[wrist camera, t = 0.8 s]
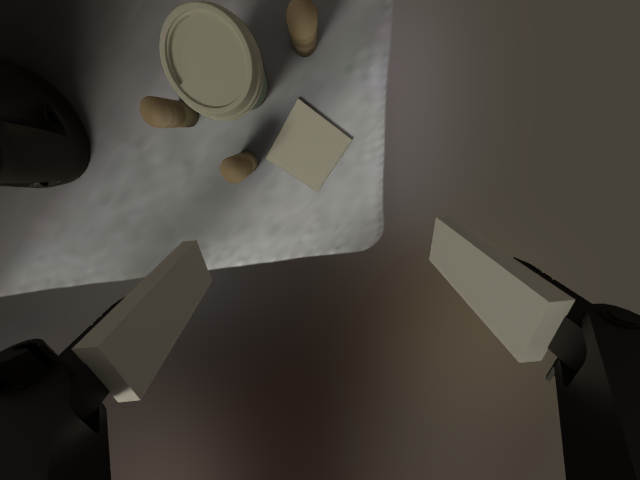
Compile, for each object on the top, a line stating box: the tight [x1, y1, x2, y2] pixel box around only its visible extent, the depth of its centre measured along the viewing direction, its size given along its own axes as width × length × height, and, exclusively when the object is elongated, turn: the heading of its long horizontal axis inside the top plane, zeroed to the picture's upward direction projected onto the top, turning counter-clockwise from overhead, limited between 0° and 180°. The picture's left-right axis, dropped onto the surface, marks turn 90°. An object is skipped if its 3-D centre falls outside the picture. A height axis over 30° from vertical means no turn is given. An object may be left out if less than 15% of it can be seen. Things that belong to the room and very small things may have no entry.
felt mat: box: [266, 99, 352, 192], centre depth 33 cm, size 9×9×1 cm
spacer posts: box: [140, 0, 318, 183], centre depth 26 cm, size 14×20×7 cm
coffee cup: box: [159, 1, 268, 121], centre depth 24 cm, size 8×9×12 cm
